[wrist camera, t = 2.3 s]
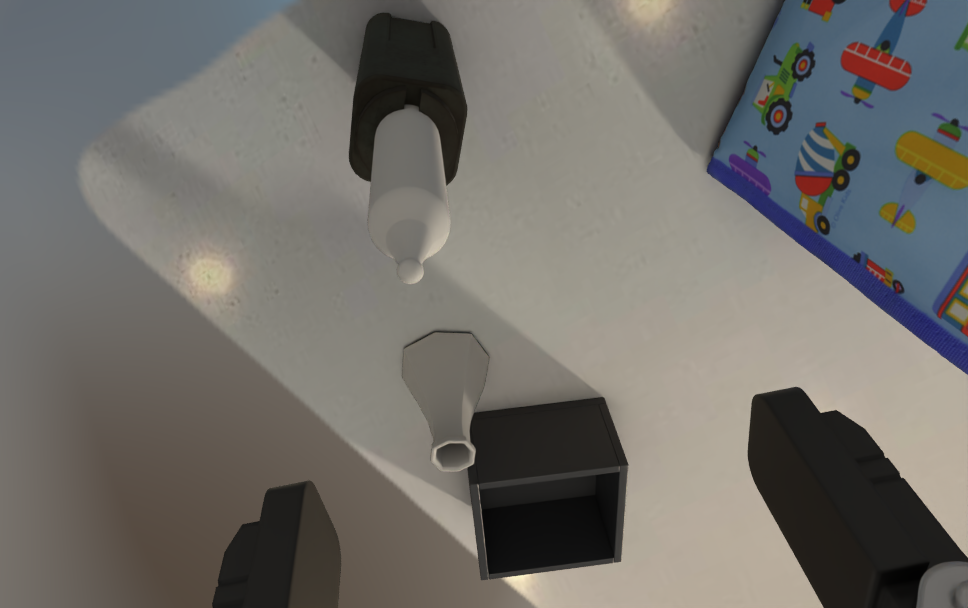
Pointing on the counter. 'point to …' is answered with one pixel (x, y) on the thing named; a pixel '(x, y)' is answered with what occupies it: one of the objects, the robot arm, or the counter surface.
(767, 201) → the lunch bag
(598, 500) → the bin
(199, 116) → the counter surface
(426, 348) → the flask
